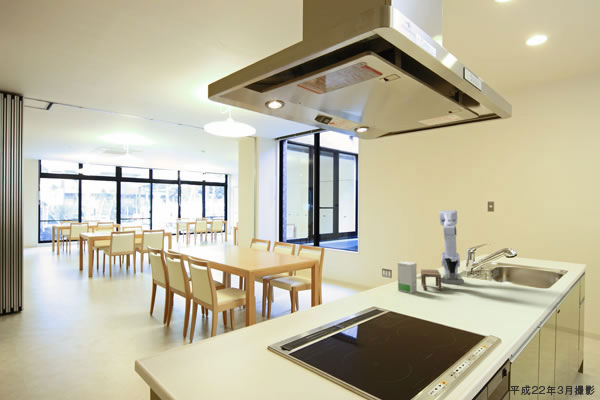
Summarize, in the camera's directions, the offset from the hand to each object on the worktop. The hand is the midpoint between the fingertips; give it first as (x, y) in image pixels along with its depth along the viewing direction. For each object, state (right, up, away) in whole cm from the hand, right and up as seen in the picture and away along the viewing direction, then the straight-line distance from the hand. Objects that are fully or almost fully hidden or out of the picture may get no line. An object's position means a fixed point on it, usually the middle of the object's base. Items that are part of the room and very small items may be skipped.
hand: (451, 272), depth 175 cm
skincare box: (-24, -10, -1) cm, 27 cm away
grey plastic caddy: (0, -6, 0) cm, 6 cm away
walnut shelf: (-10, -10, +4) cm, 14 cm away
